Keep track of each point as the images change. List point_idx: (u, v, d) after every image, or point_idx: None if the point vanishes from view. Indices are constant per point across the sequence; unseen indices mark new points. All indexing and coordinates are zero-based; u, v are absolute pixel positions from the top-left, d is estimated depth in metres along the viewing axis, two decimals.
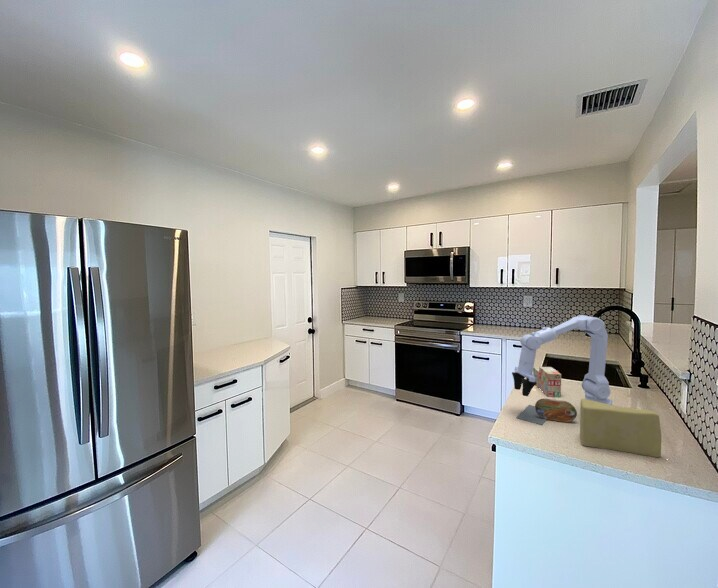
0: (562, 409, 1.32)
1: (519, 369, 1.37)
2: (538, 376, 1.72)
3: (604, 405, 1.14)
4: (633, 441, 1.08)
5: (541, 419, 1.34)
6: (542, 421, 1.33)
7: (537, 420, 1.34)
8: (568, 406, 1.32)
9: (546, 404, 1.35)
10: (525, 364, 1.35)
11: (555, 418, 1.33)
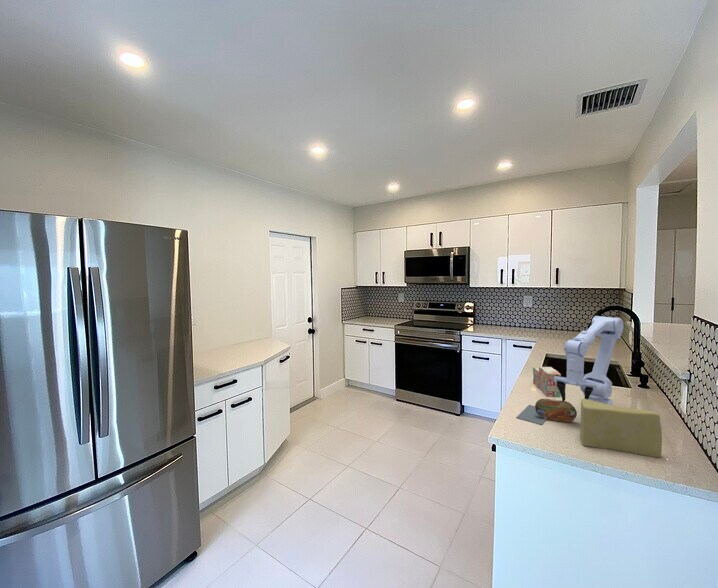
0: (562, 409, 1.32)
1: (575, 380, 1.26)
2: (538, 376, 1.72)
3: (604, 405, 1.14)
4: (633, 441, 1.08)
5: (541, 419, 1.34)
6: (542, 421, 1.33)
7: (537, 420, 1.34)
8: (568, 406, 1.32)
9: (546, 404, 1.35)
10: (581, 373, 1.26)
11: (555, 418, 1.33)
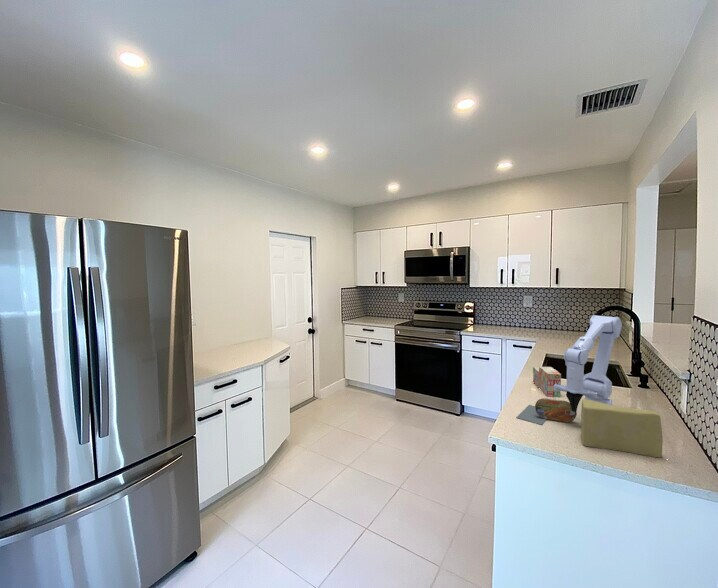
0: (562, 409, 1.33)
1: (575, 388, 1.27)
2: (538, 376, 1.72)
3: (605, 405, 1.14)
4: (634, 441, 1.08)
5: (541, 419, 1.34)
6: (542, 421, 1.33)
7: (537, 420, 1.34)
8: (568, 406, 1.32)
9: (546, 404, 1.35)
10: (581, 381, 1.26)
11: (555, 418, 1.33)
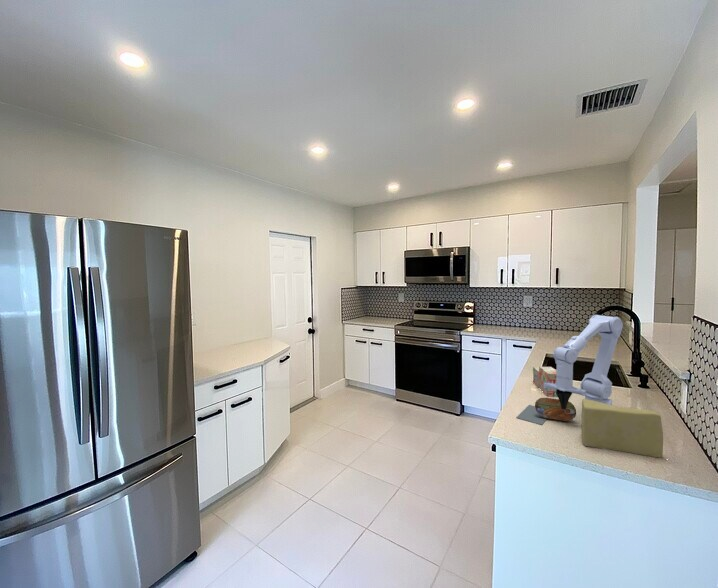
0: None
1: (564, 386, 1.29)
2: (538, 376, 1.72)
3: (605, 405, 1.14)
4: (634, 441, 1.08)
5: (541, 419, 1.34)
6: (542, 421, 1.33)
7: (537, 420, 1.34)
8: (567, 404, 1.33)
9: (546, 402, 1.36)
10: (570, 379, 1.28)
11: (555, 417, 1.34)
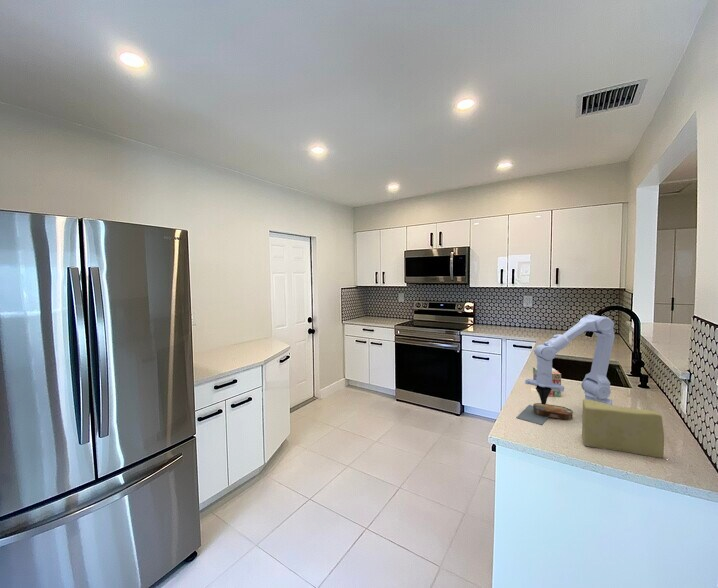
0: (558, 409, 1.39)
1: (544, 382, 1.34)
2: None
3: (606, 405, 1.14)
4: (635, 441, 1.08)
5: (541, 419, 1.34)
6: (542, 421, 1.33)
7: (537, 420, 1.34)
8: (563, 408, 1.40)
9: (543, 406, 1.42)
10: (549, 376, 1.34)
11: (554, 412, 1.36)
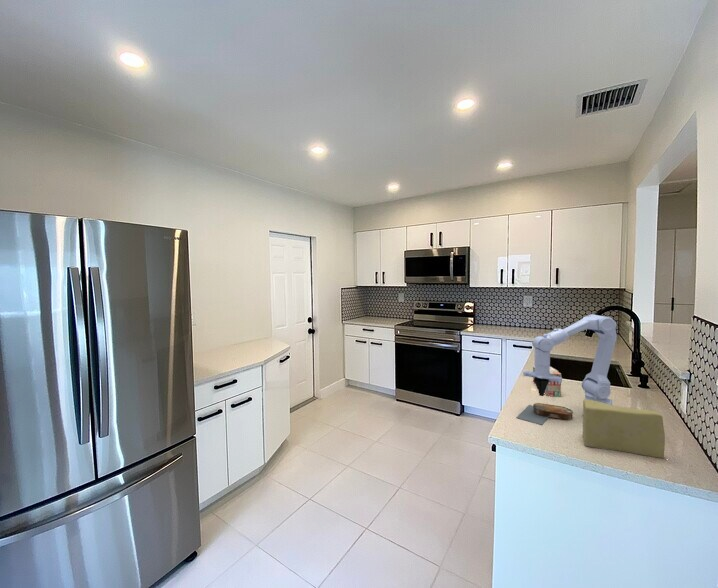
0: (558, 409, 1.39)
1: (541, 374, 1.35)
2: None
3: (607, 405, 1.14)
4: (636, 441, 1.08)
5: (541, 419, 1.34)
6: (542, 421, 1.33)
7: (537, 420, 1.34)
8: (563, 408, 1.40)
9: (543, 406, 1.42)
10: (547, 367, 1.34)
11: (554, 412, 1.36)
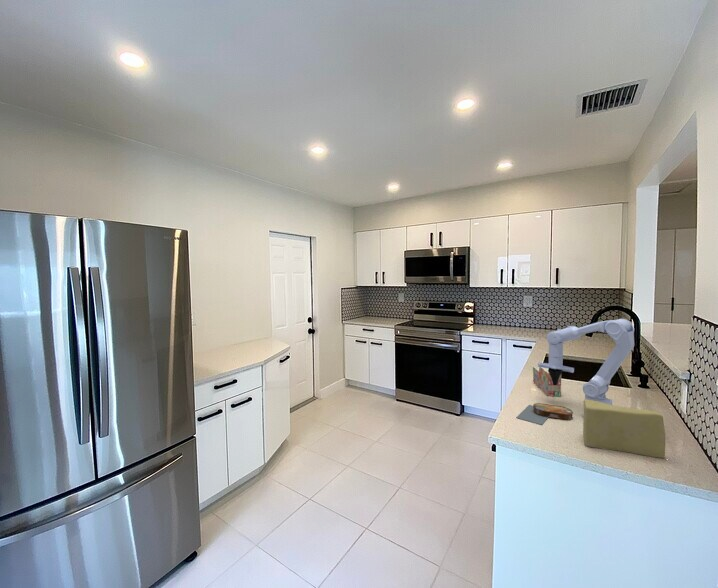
0: (558, 409, 1.39)
1: (555, 365, 1.48)
2: (538, 376, 1.73)
3: (607, 405, 1.14)
4: (636, 441, 1.08)
5: (541, 419, 1.34)
6: (542, 421, 1.33)
7: (537, 420, 1.34)
8: (563, 408, 1.40)
9: (543, 406, 1.42)
10: (560, 359, 1.47)
11: (554, 412, 1.36)
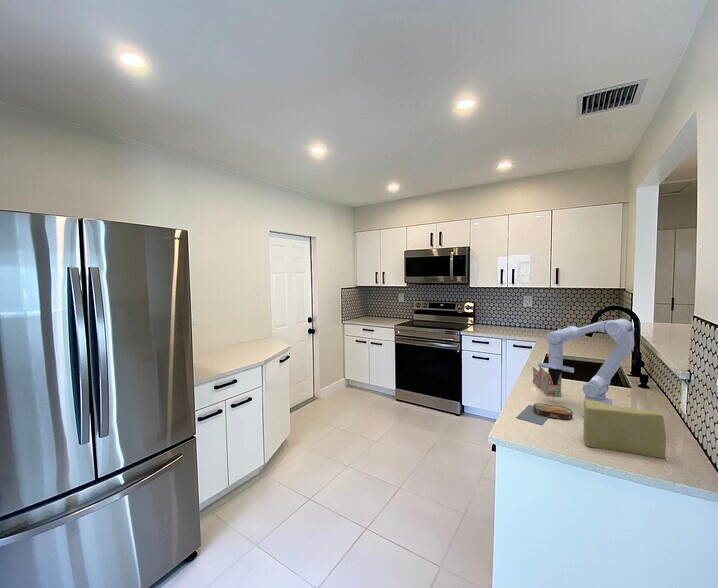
0: (558, 409, 1.39)
1: (555, 365, 1.48)
2: (538, 376, 1.73)
3: (608, 406, 1.14)
4: (637, 442, 1.08)
5: (541, 419, 1.34)
6: (542, 421, 1.33)
7: (537, 420, 1.34)
8: (563, 408, 1.40)
9: (543, 406, 1.42)
10: (560, 359, 1.47)
11: (554, 412, 1.36)
